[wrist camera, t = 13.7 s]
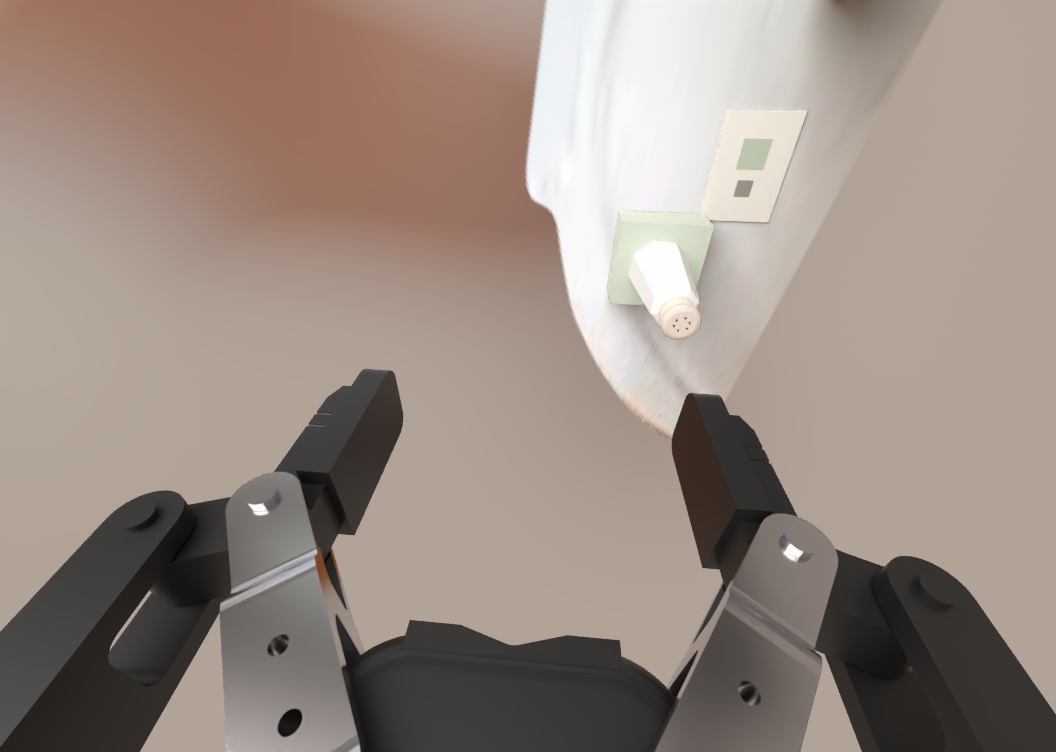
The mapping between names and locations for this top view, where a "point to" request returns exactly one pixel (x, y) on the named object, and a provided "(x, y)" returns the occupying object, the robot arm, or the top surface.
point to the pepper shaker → (667, 288)
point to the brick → (642, 230)
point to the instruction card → (751, 163)
